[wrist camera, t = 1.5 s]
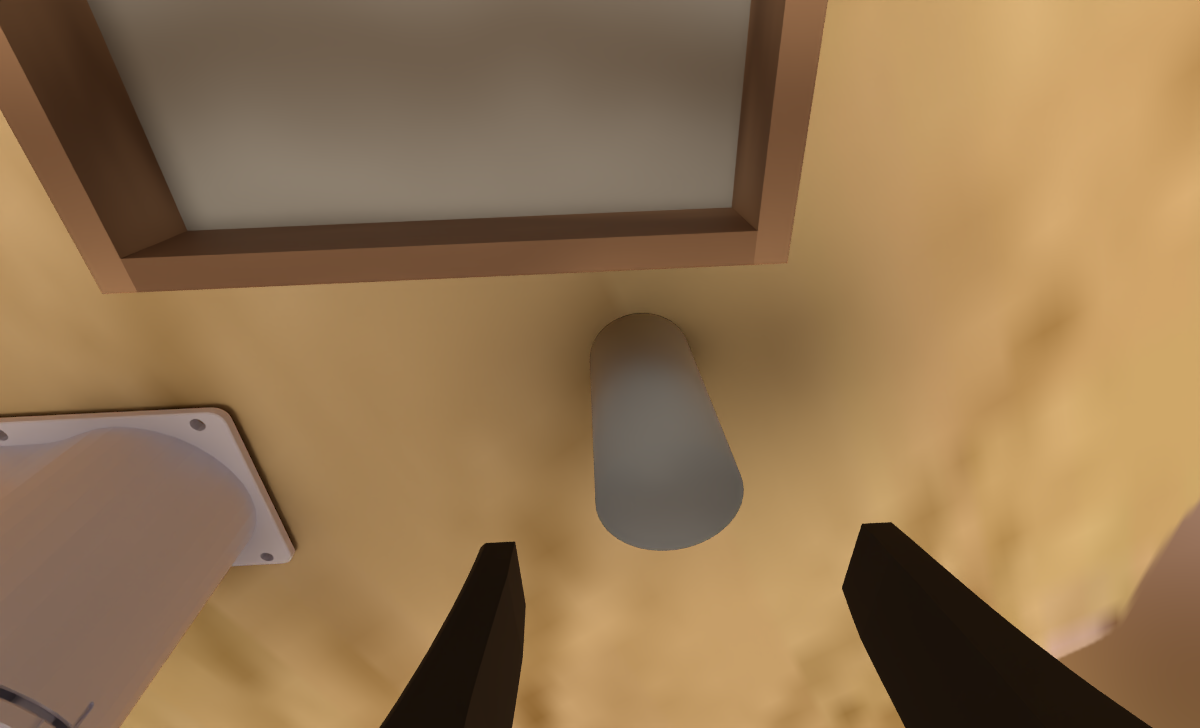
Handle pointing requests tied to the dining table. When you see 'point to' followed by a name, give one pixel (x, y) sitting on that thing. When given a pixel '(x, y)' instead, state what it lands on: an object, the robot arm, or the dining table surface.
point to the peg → (657, 439)
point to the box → (411, 135)
